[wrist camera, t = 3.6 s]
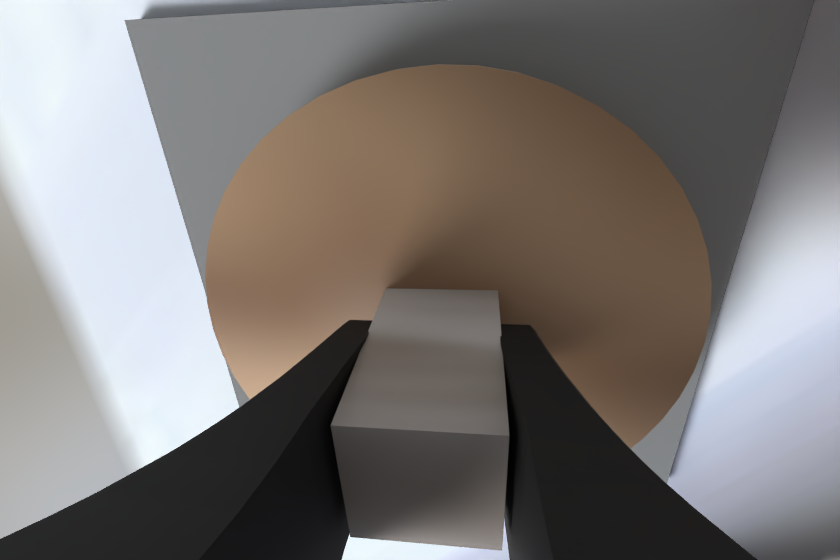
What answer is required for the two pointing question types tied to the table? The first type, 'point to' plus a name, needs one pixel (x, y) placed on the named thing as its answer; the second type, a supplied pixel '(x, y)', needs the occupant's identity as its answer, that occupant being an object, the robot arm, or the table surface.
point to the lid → (456, 278)
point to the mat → (502, 49)
